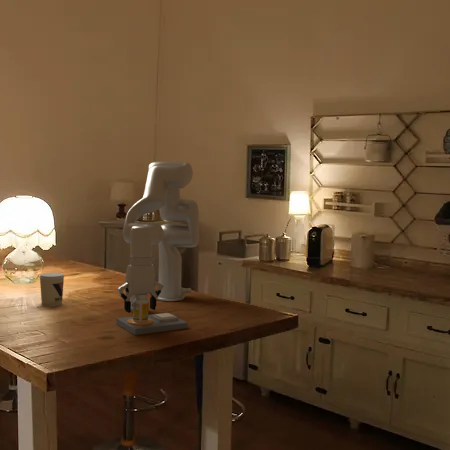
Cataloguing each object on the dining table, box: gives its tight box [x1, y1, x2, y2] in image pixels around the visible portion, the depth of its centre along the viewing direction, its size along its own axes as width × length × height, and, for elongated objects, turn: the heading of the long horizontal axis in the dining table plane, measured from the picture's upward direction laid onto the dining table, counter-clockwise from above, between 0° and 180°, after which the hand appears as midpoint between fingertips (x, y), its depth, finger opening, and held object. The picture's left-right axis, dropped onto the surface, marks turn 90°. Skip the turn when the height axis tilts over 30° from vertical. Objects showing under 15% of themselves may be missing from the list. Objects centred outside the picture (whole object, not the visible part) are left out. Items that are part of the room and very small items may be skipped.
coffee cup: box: [39, 272, 65, 308], centre depth 256 cm, size 9×9×12 cm
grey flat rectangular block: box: [115, 312, 189, 336], centre depth 228 cm, size 20×16×3 cm
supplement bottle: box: [132, 294, 150, 322], centre depth 226 cm, size 5×5×10 cm
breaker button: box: [154, 312, 175, 319], centre depth 231 cm, size 5×5×3 cm
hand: (140, 310), depth 226 cm, fingers open, 9 cm apart
